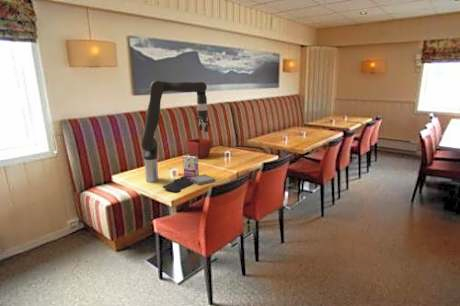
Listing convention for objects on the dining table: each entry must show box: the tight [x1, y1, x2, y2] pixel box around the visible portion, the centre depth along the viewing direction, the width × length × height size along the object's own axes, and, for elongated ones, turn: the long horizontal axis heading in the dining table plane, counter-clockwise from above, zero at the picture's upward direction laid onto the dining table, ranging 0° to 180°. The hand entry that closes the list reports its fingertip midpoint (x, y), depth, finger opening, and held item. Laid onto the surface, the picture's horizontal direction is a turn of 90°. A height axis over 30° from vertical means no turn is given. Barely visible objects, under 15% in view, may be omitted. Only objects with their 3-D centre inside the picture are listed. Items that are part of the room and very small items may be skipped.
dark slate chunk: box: [162, 175, 195, 193], centre depth 211 cm, size 15×22×5 cm
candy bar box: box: [182, 155, 200, 178], centre depth 229 cm, size 11×5×16 cm, turn 61°
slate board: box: [188, 174, 216, 186], centre depth 221 cm, size 14×14×2 cm
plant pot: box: [185, 138, 213, 160], centre depth 291 cm, size 19×19×17 cm
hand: (203, 131), depth 223 cm, fingers open, 8 cm apart
